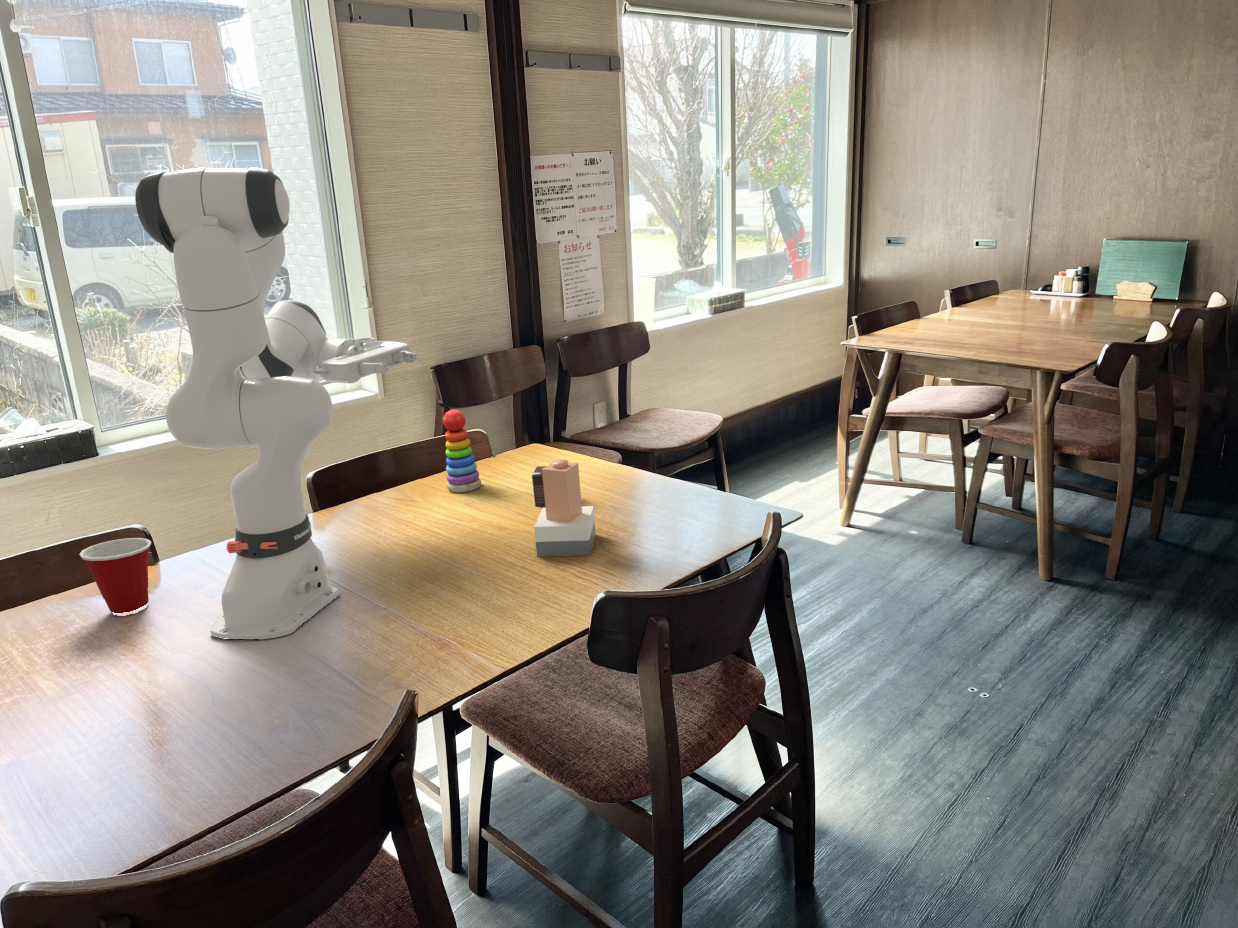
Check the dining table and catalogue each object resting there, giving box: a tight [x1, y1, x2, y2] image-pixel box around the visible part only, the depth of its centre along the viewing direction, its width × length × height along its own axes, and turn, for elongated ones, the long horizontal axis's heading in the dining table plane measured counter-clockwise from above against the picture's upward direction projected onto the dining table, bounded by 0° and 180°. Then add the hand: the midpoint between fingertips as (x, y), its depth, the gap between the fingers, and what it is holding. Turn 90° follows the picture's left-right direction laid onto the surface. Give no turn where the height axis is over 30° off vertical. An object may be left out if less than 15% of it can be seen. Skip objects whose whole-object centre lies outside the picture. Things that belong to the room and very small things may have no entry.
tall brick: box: [542, 459, 582, 522], centre depth 168 cm, size 5×5×11 cm
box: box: [531, 465, 547, 507], centre depth 195 cm, size 6×6×7 cm
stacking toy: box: [442, 409, 482, 493], centre depth 205 cm, size 8×8×19 cm
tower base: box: [533, 505, 597, 558], centre depth 170 cm, size 10×10×6 cm
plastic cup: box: [79, 537, 152, 613], centre depth 154 cm, size 11×11×12 cm
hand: (400, 362), depth 173 cm, fingers open, 8 cm apart
